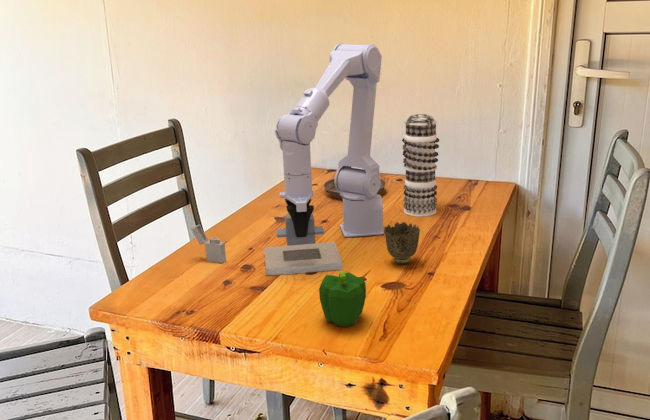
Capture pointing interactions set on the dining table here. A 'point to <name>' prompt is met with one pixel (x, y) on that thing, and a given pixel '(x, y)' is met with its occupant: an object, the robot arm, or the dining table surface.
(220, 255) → the lighter
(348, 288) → the bell pepper
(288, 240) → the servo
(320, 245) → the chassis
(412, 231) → the cup
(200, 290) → the dining table surface
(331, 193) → the plant saucer
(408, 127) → the decorative candle
